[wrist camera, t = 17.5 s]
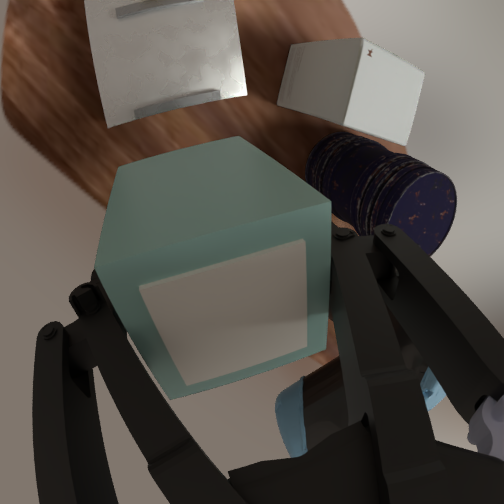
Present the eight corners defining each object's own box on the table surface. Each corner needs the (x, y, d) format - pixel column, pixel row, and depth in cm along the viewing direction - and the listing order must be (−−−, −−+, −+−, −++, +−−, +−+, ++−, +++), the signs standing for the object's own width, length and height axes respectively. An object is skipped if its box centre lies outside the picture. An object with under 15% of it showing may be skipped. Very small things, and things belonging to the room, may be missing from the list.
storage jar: (306, 129, 33) (396, 170, 21) (374, 131, 36) (466, 170, 24) (301, 209, 38) (373, 279, 26) (365, 202, 41) (441, 260, 29)
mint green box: (253, 238, 21) (327, 352, 13) (151, 267, 20) (170, 403, 12) (239, 135, 17) (334, 204, 9) (118, 167, 16) (93, 271, 8)
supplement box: (274, 105, 31) (339, 125, 20) (290, 42, 27) (363, 33, 17) (331, 121, 33) (407, 149, 23) (346, 63, 30) (428, 71, 20)
